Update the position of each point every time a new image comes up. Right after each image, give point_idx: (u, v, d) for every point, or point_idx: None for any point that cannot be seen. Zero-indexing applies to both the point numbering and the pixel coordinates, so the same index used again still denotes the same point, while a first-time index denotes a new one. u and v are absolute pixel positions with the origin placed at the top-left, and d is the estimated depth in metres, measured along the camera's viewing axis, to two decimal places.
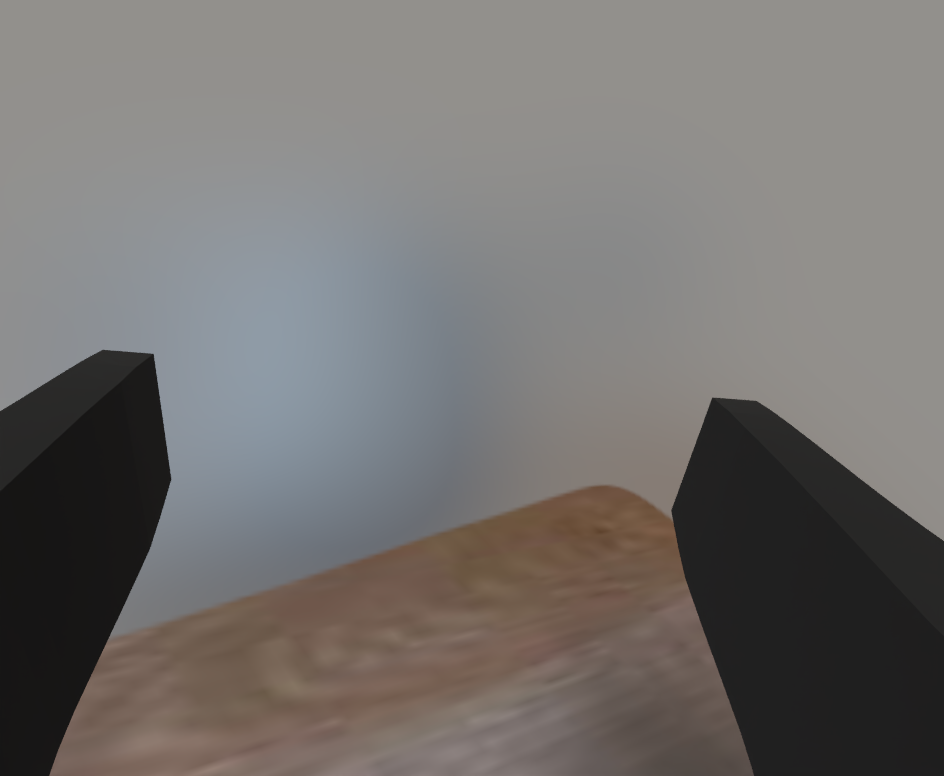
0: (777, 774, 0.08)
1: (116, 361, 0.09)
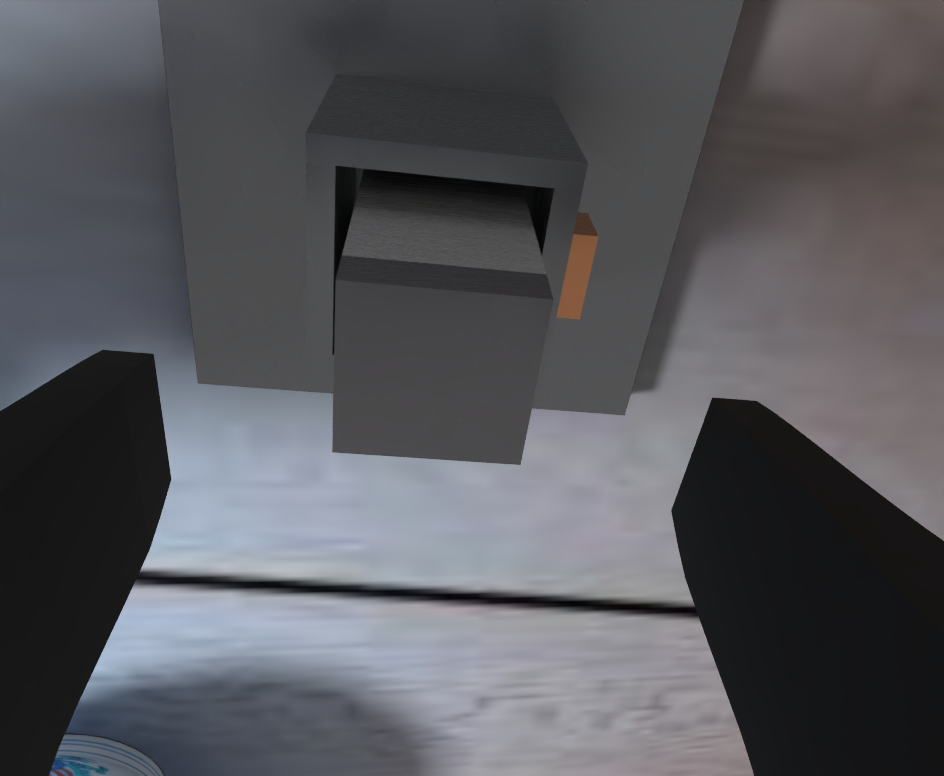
0: (777, 774, 0.08)
1: (116, 361, 0.09)
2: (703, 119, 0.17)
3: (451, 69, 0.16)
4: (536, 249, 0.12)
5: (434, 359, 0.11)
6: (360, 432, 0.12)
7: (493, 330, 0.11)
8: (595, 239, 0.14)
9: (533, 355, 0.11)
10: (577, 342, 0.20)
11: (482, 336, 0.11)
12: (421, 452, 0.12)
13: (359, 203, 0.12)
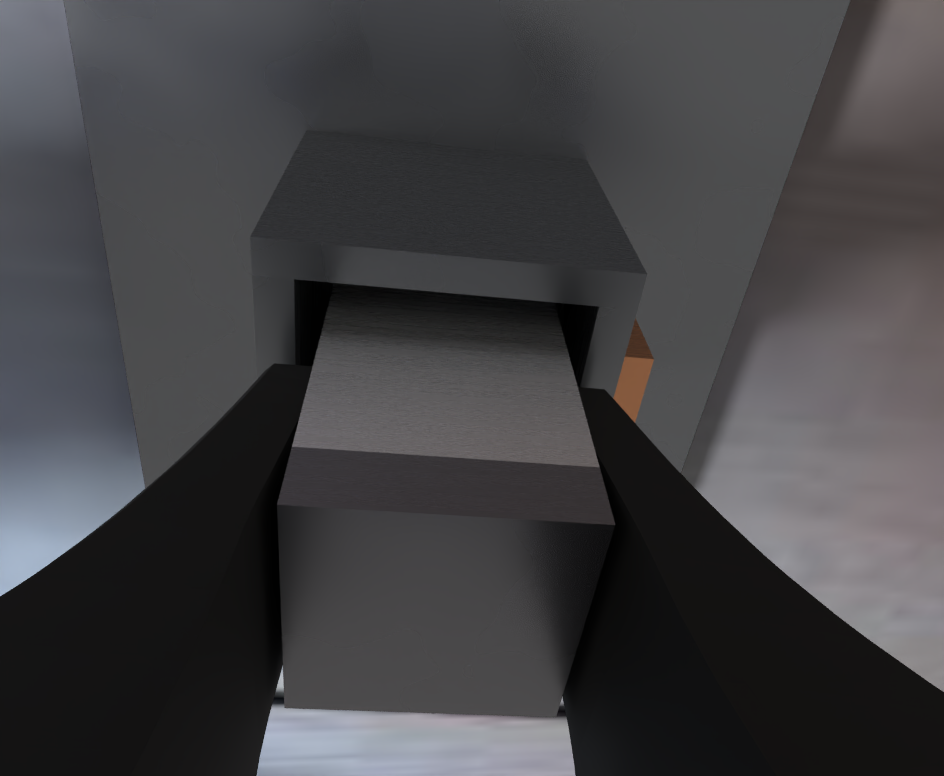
0: (587, 769, 0.08)
1: (294, 374, 0.09)
2: (776, 184, 0.13)
3: (455, 124, 0.12)
4: (580, 412, 0.08)
5: (431, 600, 0.07)
6: (323, 686, 0.08)
7: (521, 564, 0.07)
8: (649, 362, 0.11)
9: (580, 593, 0.07)
10: None
11: (505, 572, 0.07)
12: (413, 707, 0.08)
13: (327, 335, 0.09)
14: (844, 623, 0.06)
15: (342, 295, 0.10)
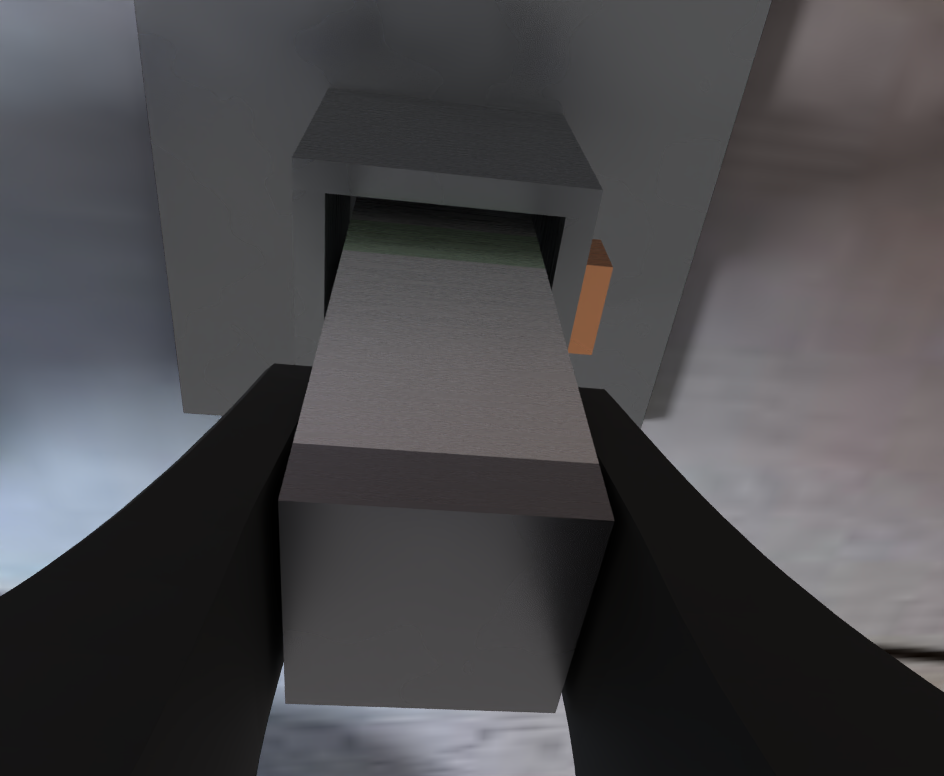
0: (587, 769, 0.08)
1: (294, 375, 0.09)
2: (723, 136, 0.16)
3: (453, 83, 0.15)
4: (580, 409, 0.08)
5: (431, 596, 0.07)
6: (324, 680, 0.08)
7: (521, 560, 0.07)
8: (609, 270, 0.13)
9: (580, 589, 0.07)
10: (586, 370, 0.19)
11: (504, 567, 0.07)
12: (414, 702, 0.08)
13: (328, 333, 0.09)
14: (844, 622, 0.06)
15: (343, 293, 0.10)
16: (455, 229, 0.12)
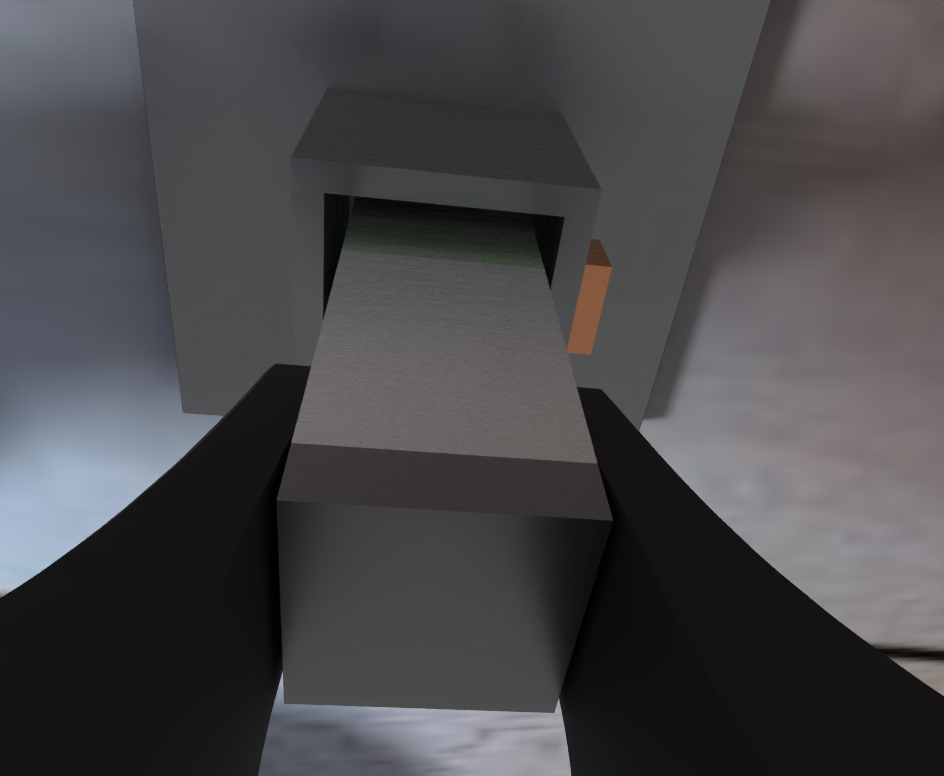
0: (583, 769, 0.08)
1: (295, 374, 0.09)
2: (722, 135, 0.16)
3: (452, 83, 0.15)
4: (578, 409, 0.08)
5: (429, 596, 0.07)
6: (323, 681, 0.08)
7: (519, 560, 0.07)
8: (608, 270, 0.13)
9: (578, 589, 0.07)
10: (585, 370, 0.19)
11: (503, 567, 0.07)
12: (412, 702, 0.08)
13: (326, 334, 0.09)
14: (836, 622, 0.06)
15: (341, 293, 0.10)
16: (454, 229, 0.12)
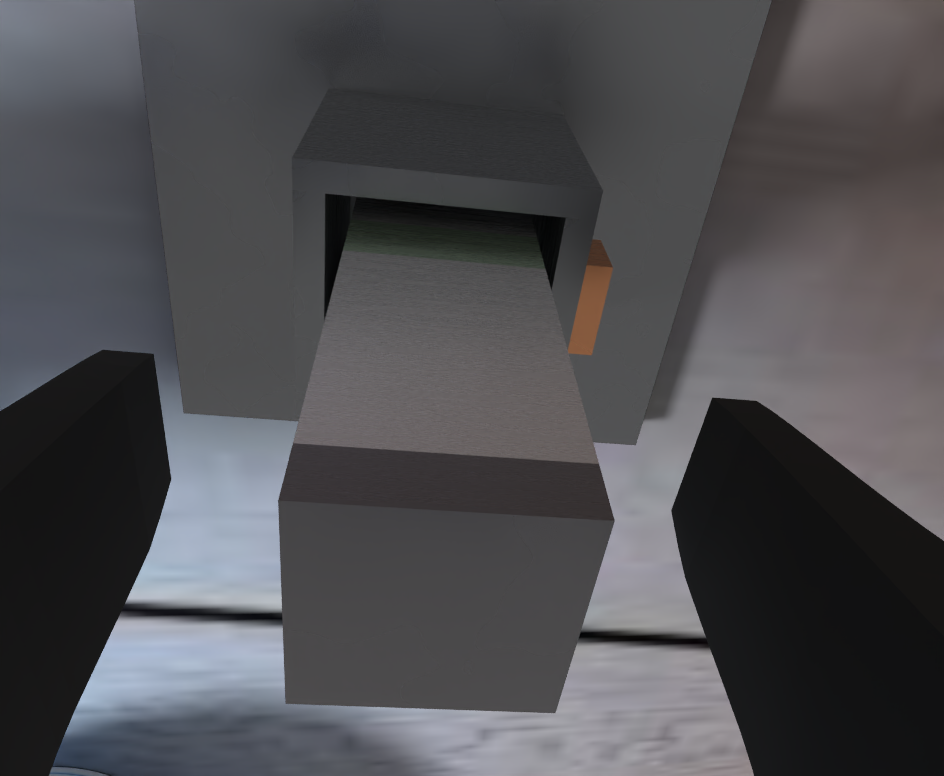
0: (777, 774, 0.08)
1: (116, 361, 0.09)
2: (723, 136, 0.16)
3: (453, 83, 0.15)
4: (580, 409, 0.08)
5: (431, 597, 0.07)
6: (325, 681, 0.08)
7: (521, 560, 0.07)
8: (609, 270, 0.13)
9: (580, 589, 0.07)
10: (586, 370, 0.19)
11: (505, 568, 0.07)
12: (414, 703, 0.08)
13: (328, 334, 0.09)
14: None
15: (343, 293, 0.10)
16: (455, 230, 0.12)
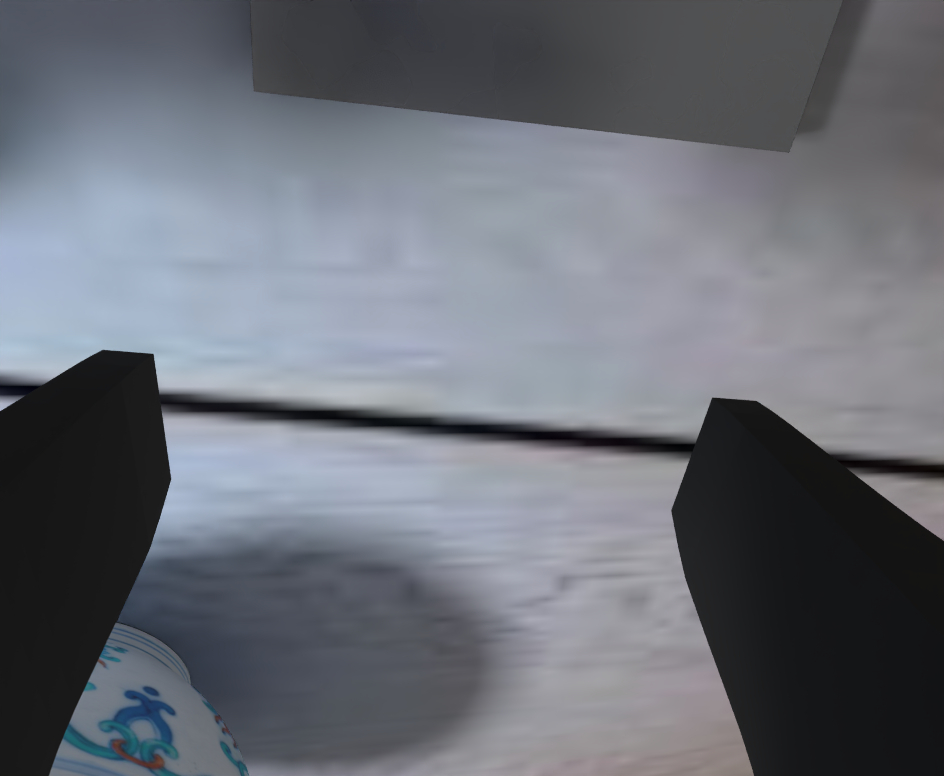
0: (777, 774, 0.08)
1: (116, 361, 0.09)
2: None
3: None
4: None
5: None
6: None
7: None
8: None
9: None
10: (743, 35, 0.16)
11: None
12: None
13: None
14: None
15: None
16: None
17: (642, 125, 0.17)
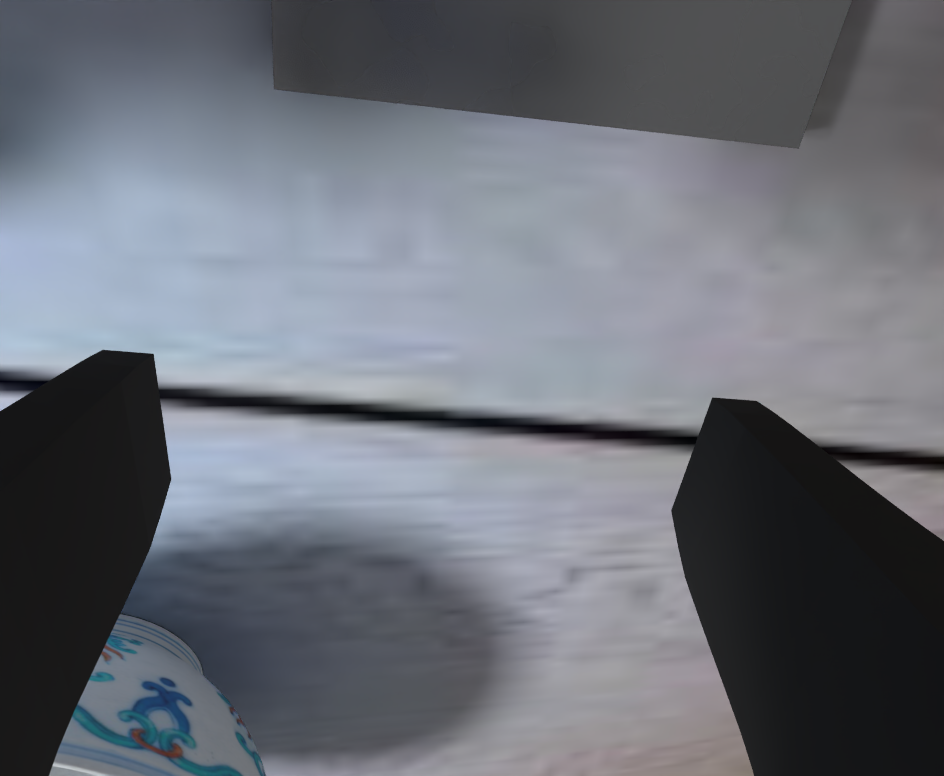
0: (777, 774, 0.08)
1: (116, 361, 0.09)
2: None
3: None
4: None
5: None
6: None
7: None
8: None
9: None
10: (754, 33, 0.16)
11: None
12: None
13: None
14: None
15: None
16: None
17: (655, 122, 0.17)
